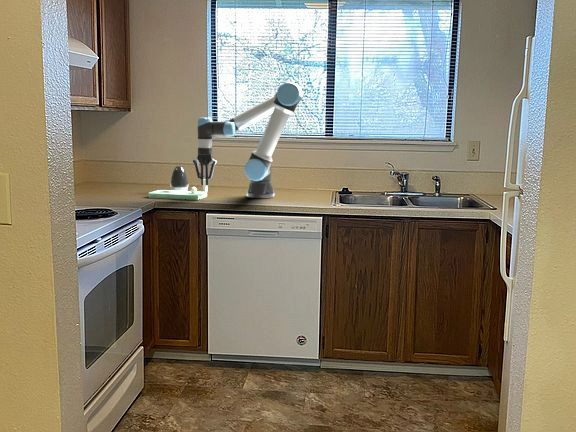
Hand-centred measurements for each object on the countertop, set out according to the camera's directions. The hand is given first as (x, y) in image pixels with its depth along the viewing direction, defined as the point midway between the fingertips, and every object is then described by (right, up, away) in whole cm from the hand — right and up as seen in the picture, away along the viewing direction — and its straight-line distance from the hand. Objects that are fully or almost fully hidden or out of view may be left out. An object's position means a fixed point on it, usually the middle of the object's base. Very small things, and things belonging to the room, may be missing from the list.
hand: (205, 191), depth 316 cm
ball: (-6, +1, +1) cm, 7 cm away
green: (-15, -3, +4) cm, 16 cm away
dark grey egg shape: (-18, 0, +21) cm, 28 cm away
